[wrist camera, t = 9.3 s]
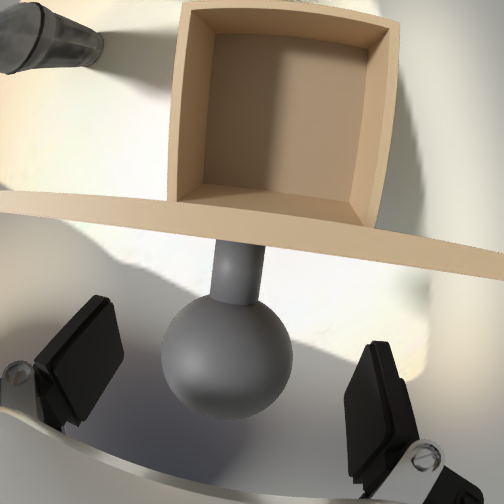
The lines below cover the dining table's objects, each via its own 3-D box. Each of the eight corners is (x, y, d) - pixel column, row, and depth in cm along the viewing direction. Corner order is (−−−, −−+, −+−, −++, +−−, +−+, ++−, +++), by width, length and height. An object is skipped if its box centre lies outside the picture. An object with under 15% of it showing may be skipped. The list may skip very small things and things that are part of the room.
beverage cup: (80, 89, 27) (-66, 100, 9) (59, 53, 25) (-73, 49, 7) (123, 46, 25) (-26, 16, 7) (98, 11, 23) (-33, -24, 5)
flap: (-19, 190, 6) (-10, 374, 7) (543, 263, 5) (468, 466, 5) (166, 211, 23) (158, 289, 24) (372, 238, 22) (358, 319, 22)
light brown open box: (210, 28, 23) (182, 2, 16) (374, 45, 22) (400, 22, 15) (197, 188, 30) (167, 210, 23) (354, 209, 29) (372, 238, 22)
